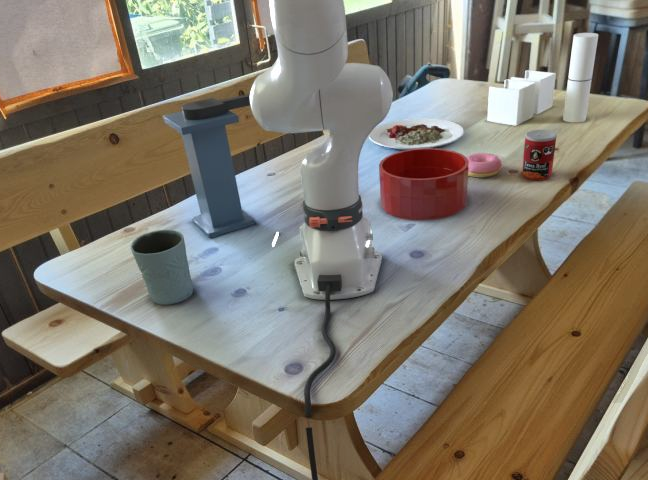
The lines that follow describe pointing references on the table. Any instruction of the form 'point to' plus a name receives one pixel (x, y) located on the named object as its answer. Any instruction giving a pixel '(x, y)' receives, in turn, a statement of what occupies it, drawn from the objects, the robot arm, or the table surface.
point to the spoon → (213, 107)
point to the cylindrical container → (580, 76)
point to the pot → (424, 183)
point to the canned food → (538, 154)
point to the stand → (212, 172)
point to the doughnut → (483, 165)
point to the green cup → (163, 265)
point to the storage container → (521, 98)
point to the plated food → (416, 133)
